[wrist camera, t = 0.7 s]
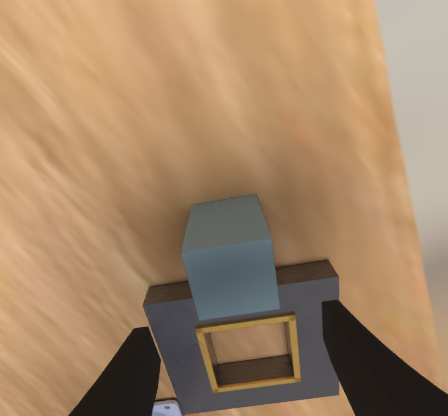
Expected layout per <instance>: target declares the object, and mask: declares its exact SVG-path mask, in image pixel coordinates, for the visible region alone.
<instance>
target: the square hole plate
mask: <svg viewBox="0 0 448 416" xmlns="http://www.w3.org/2000/svg"><path fill="white" fill-rule="evenodd" d="M275 270H276V279H277V288H278V297H279V305H280V309H276V310H269V311H262V312H255V313H248V314H241V315H234V316H227V317H220V318H213V319H206V320H199V318H198V314H197V310H196V307H195V303H194V299H193V296H192V292H191V289H190V285H189V281H186V282H179V283H173V284H166V285H159V286H153V287H149V289H148V291H147V294H146V297H145V300H144V303H143V308H144V310H145V313H146V316H147V318H148V321H149V324H150V326H151V329H152V332H153V334H154V337H155V340H156V342H157V345H158V348H159V350H160V353H161V356H162V359H163V361H164V364H165V367H166V369H167V372H168V375H169V377H170V380H171V383H172V385H173V388H174V391H175V393H176V396H177V399H178V401H179V404H180V407H181V409H182V412H183V415H185V414H193V413H200V412H208V411H216V410H224V409H232V408H240V407H248V406H256V405H264V404H272V403H279V402H287V401H295V400H303V399H311V398H319V397H327V396H335V395H339V379H338V377H337V375H336V372H335V370H334V368H333V366H332V363H331V361H330V358H329V355H328V352H327V349H326V346H325V343H324V340H323V328H322V302H323V301H330V300H338V301H339V276H338V275H337V273H336V271H335V270H334V268H333V267H332V265H331V263H330V262H329V260H325V261H319V262H312V263H305V264H299V265H292V266H285V267H279V268H275ZM279 322H285V327H286V336H287V345H288V355H286V356H278V357H271V358H263V359H256V360H249V361H241V362H234V363H226V364H219V365H218V363H217V359H216V355H215V351H214V348H213V344H212V340H211V336H210V332H215V331H222V330H229V329H236V328H243V327H250V326H257V325H264V324H271V323H279Z"/></svg>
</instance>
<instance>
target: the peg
mask: <svg viewBox="0 0 448 416" xmlns="http://www.w3.org/2000/svg"><path fill="white" fill-rule="evenodd" d="M181 256H182V259H183V263H184V267H185V270H186V274H187V278H188V281H189V285H190V289H191V292H192V296H193V299H194V303H195V307H196V310H197V314H198V318H199V320H206V319H213V318H220V317H227V316H234V315H241V314H248V313H255V312H262V311H269V310H276V309H280V305H279V297H278V288H277V279H276V270H275V261H274V253H273V244H272V237H271V235H270V232H269V229H268V226H267V223H266V220H265V218H264V215H263V212H262V209H261V206H260V203H259V200H258V198H257V195H256V194H254V195H248V196H242V197H236V198H230V199H224V200H218V201H212V202H206V203H200V204H194V205H191V209H190V213H189V218H188V222H187V227H186V231H185V236H184V240H183V245H182V249H181Z"/></svg>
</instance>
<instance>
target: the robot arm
mask: <svg viewBox="0 0 448 416" xmlns="http://www.w3.org/2000/svg"><path fill="white" fill-rule="evenodd" d="M322 328H323V340H324V343H325V346H326V349H327V352H328V355H329V358H330V361H331V363H332V366H333V368H334V370H335V372H336V375H337V377H338V379H339V381H340V383H341V386H342V388H343V390H344V392H345V394H346V396H347V398H348V401H349V403H350V405H351V407H352V409H353V411H354V414H355V416H448V394H446V393H445V392H444V391H442V390H441V389H439V388H438V387H437V386H435V385H434V384H433V383H431V382H430V381H429V380H427V379H426V378H424V377H423V376H422V375H421V374H419V373H418V372H417V371H415V370H414V369H413V368H412V367H410V366H409V365H408V364H407V363H405V362H404V361H403V360H402V359H401V358H399V357H398V356H397V355H396V354H395V353H393V352H392V351H391V350H390V349H389V348H388V347H386V346H385V345H384V344H383V343H382V342H381V341H380V340H379V339H378V338H376V337H375V336H374V335H373V334H372V333H371V332H370V331H369V330H368V329H367V328H366V327H365V326H363V325H362V324H361V323H360V322H359V321H358V320H357V319H356V318H355V317H354V316H353V315H352V314H351V313H350V312H349V311H348V310H347V309H346V308H345V307H344V306H343V305H342V303H341V302H340V301H338V300H330V301H323V302H322ZM160 363H161V359H160V357H159V354H158V351H157V349H156V346H155V343H154V341H153V338H152V336H151V333H150V330H149V328H148V327H141V328H134V329H133V330H132V332H131V333H130V335H129V336H128V337H127V339H126V340H125V342H124V343H123V344H122V346H121V347H120V349H119V350H118V352H117V353H116V354H115V356H114V357H113V359H112V360H111V361H110V363H109V364H108V366H107V367H106V368H105V370H104V371H103V372H102V374H101V375H100V376H99V378H98V379H97V380H96V382H95V383H94V384H93V386H92V387H91V388H90V389H89V391H88V392H87V393H86V395H85V396H84V397H83V398H82V400H81V401H80V402H79V403H78V405H77V406H76V407H75V408H74V409H73V411H72V412H71V413H70V414H69V415H68V416H183V415H182V412H181V410H180V407H179V405H178V402H177V401H175V400H168V401H160V402H155V398H156V394H157V389H158V382H159V373H160Z"/></svg>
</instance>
